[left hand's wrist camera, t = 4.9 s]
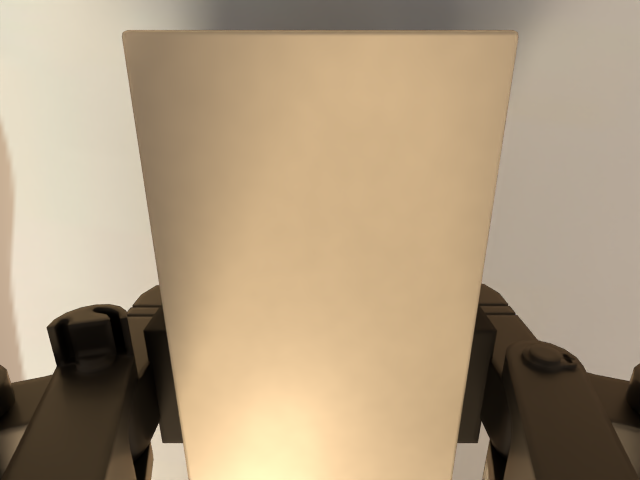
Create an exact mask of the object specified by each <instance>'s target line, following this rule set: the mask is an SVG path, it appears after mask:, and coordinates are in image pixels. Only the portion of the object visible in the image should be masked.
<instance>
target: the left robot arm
mask: <svg viewBox="0 0 640 480" xmlns="http://www.w3.org/2000/svg"><path fill="white" fill-rule="evenodd" d="M47 331H48V335H49V338H50V342H51V346H52V349H53V353H54V357H55V361H56V364H57V367H56V369H55V371H54V373H53V375H49V376H45V377H40V378H35V379H30V380H25V381H20V382H14V383H11V381H10V378H9V375H8V372H7V370H6V369H5V368H4V367H3V366H1V365H0V480H151V475H152V467H153V452H152V446H151V439H152V436H153V434H154V432H155V430H156V428H157V426H158V424H159V425H160V431H161V437H162V442H163V443H183V438H182V431H181V425H180V418H179V411H178V405H177V398H176V391H175V385H174V378H173V371H172V365H171V358H170V352H169V345H168V338H167V332H166V325H165V318H164V312H163V305H162V298H161V292H160V285H156V286H155V287H153V288H151V289H150V290H148V291H147V292H145V293H143V294H142V295H141V296H140V297H139V298H138V299H137V301H136V302H135V303H134V304H133V307H132V308H130V309H129V310H128V312H126V310H124V309H123V308H122V307H120V306H116V305H111V304H99V305H91V306H86V307H81V308H78V309H75V310H73V311H70V312H67V313H65V314H63V315H61V316H60V317H58V318H56V319H54V320H53V321H52V322H51V323H50V324H49V325H48V327H47ZM481 421H482V423H483V425H484V427H485V429H486V431H487V434H488V436H489V438H490V441H489V446H488V452H487V457H486V462H485V468H484V473H483V479H482V480H640V364H638V365H637V366H636V367H634V370H633V373H632V376H631V379H630V381H625V380H620V379H615V378H610V377H605V376H600V375H595V374H591V373H587V372H586V370H585V368H584V366H583V365H582V364H581V362H580V361H579V360H578V359H577V358H576V357H575V356H574V355H572V354H571V353H569V352H568V351H566V350H565V349H563V348H560V347H558V346H556V345H553V344H551V343H546V342H542V341H538V340H537V339H536V337H535V336H534V335H533V334H532V332H531V331H530V330H529V329H528V328H527V326H526V325H525V324H524V323H523V322H522V320H521V319H520V318H519V317H518V315H515V312H514V311H513V309H512V308H511V307H510V306H508V303H507V302H506V301H505V300H504V298H503V297H502V296H501V295H500V294H499V293H498V292H496V291H495V290H493V289H491V288H490V287H488V286H486V285H485V284H481V288H480V294H479V301H478V308H477V314H476V321H475V328H474V334H473V341H472V347H471V354H470V361H469V367H468V374H467V381H466V387H465V394H464V400H463V407H462V414H461V420H460V427H459V434H458V440H457V443H478V438H479V433H480V427H481Z"/></svg>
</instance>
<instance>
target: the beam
mask: <svg viewBox="0 0 640 480" xmlns="http://www.w3.org/2000/svg"><path fill="white" fill-rule="evenodd" d="M122 39H123V46H124V53H125V59H126V66H127V73H128V79H129V86H130V93H131V99H132V106H133V113H134V119H135V126H136V132H137V139H138V146H139V152H140V159H141V166H142V172H143V179H144V186H145V192H146V199H147V205H148V212H149V219H150V225H151V232H152V239H153V245H154V252H155V259H156V265H157V272H158V279H159V285H160V292H161V298H162V305H163V312H164V318H165V325H166V332H167V338H168V345H169V352H170V358H171V365H172V371H173V378H174V385H175V391H176V398H177V405H178V411H179V418H180V425H181V431H182V438H183V445H184V451H185V458H186V464H187V471H188V478H189V480H452V473H453V467H454V460H455V453H456V447H457V440H458V434H459V427H460V420H461V414H462V407H463V400H464V394H465V387H466V381H467V374H468V367H469V361H470V354H471V347H472V341H473V334H474V328H475V321H476V314H477V308H478V301H479V294H480V288H481V281H482V275H483V268H484V261H485V255H486V248H487V241H488V235H489V228H490V222H491V215H492V208H493V202H494V195H495V188H496V182H497V175H498V169H499V162H500V155H501V149H502V142H503V135H504V129H505V122H506V116H507V109H508V102H509V96H510V89H511V82H512V76H513V69H514V63H515V56H516V49H517V43H518V32H516V31H514V30H127V31H125V32H123V34H122Z"/></svg>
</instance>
